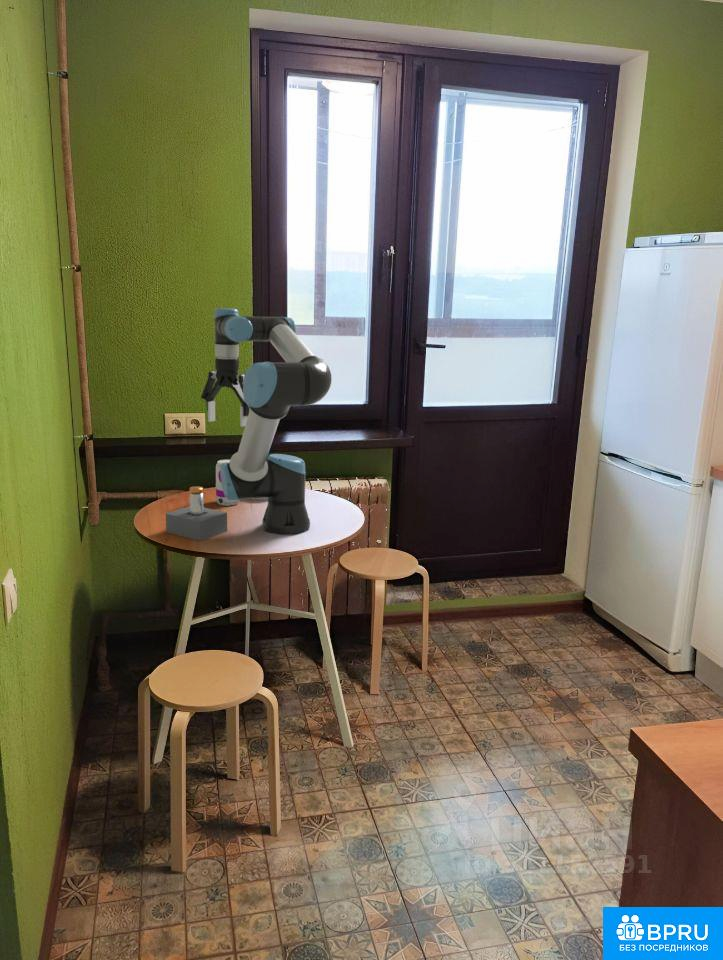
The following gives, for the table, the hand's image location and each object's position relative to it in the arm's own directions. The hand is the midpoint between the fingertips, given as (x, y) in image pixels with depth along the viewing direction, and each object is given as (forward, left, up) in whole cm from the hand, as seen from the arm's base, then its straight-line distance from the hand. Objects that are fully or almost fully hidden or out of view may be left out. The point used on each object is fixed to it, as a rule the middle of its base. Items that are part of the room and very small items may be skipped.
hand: (227, 423), depth 240 cm
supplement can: (+9, -10, -31) cm, 34 cm away
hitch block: (-5, +20, -31) cm, 37 cm away
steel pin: (-5, +20, -31) cm, 37 cm away
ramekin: (+4, -24, -31) cm, 40 cm away
